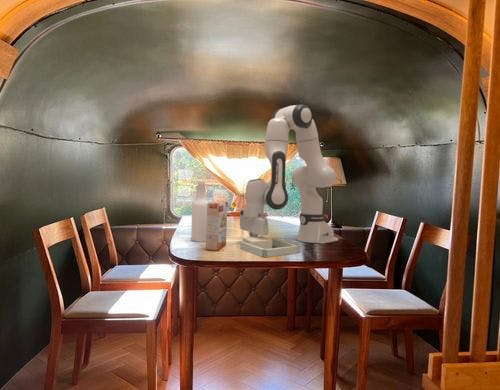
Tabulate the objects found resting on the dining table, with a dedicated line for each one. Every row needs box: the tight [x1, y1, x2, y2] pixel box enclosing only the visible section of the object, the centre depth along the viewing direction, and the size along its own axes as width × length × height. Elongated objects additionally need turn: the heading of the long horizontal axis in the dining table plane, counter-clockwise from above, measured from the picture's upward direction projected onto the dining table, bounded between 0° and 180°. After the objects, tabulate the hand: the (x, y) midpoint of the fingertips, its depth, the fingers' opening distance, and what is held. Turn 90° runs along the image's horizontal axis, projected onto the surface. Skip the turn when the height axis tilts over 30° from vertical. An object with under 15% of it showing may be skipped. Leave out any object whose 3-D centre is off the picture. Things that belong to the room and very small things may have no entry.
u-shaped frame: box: [239, 238, 301, 259], centre depth 152 cm, size 19×19×3 cm
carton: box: [242, 235, 273, 249], centre depth 156 cm, size 10×10×5 cm
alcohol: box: [190, 180, 210, 243], centre depth 170 cm, size 9×9×30 cm
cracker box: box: [205, 200, 229, 252], centre depth 155 cm, size 14×6×21 cm, turn 168°
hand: (253, 241), depth 163 cm, fingers closed
